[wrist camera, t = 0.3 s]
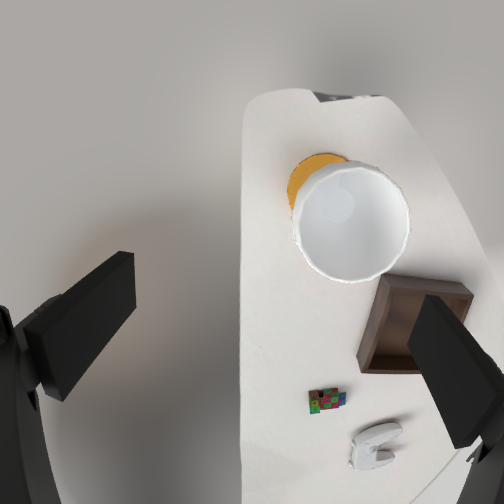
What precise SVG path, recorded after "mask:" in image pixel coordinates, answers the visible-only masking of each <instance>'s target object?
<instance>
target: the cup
mask: <svg viewBox="0 0 504 504" xmlns="http://www.w3.org/2000/svg"><path fill="white" fill-rule="evenodd" d="M287 192H288V198H289V204H290V206H291V208H292V210H293V212H292V216H291V221H292V227H293V234H294V241H295V242H296V244H297V246H298V247H299V249H300V250H301V252H302V254H303V255H304V257H305V259H306V260H307V262H308V263H309V265H310V266H311V267H312V268H314V269H315V270H317V271H318V272H319V273H321V274H322V275H324V276H325V277H326V278H328V279H331V280H335V281H340V282H344V283H348V284H350V283H357V282H363V281H370V280H372V279H374V278H376V277H377V276H379V275H381V274H383V273H384V272H386V271H388V270H389V269H390V268H391V267H392V266H393V265H394V264H395V262H396V261H397V260H398V259H399V258H400V256H401V255H402V254H403V253H404V250H405V247H406V244H407V242H408V239H409V236H410V233H411V217H410V208H409V205H408V203H407V201H406V199H405V196H404V194H403V192H402V190H401V188H400V187H399V186H398V185H397V184H396V183H395V182H394V181H393V180H391V179H390V178H389V177H388V176H387V175H386V174H385V173H384V172H382V171H381V170H380V169H379V168H378V167H375V166H371V165H368V164H365V163H362V162H359V161H348V162H347V161H346V160H345V159H344V158H342V157H339V156H335V155H332V154H320V155H313V156H311V157H309V158H307V159H306V160H304V161H302V162H301V163H299V165H298V166H297V167H296V169H295V170H294V171H293V173H292V174H291V176H290V180H289V184H288V189H287Z"/></svg>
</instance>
